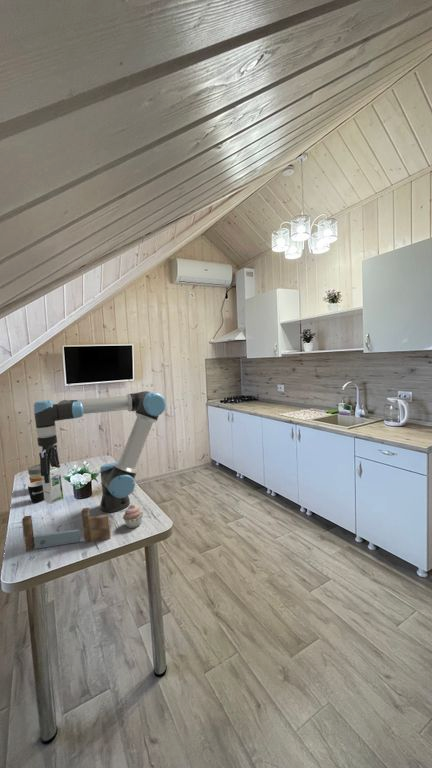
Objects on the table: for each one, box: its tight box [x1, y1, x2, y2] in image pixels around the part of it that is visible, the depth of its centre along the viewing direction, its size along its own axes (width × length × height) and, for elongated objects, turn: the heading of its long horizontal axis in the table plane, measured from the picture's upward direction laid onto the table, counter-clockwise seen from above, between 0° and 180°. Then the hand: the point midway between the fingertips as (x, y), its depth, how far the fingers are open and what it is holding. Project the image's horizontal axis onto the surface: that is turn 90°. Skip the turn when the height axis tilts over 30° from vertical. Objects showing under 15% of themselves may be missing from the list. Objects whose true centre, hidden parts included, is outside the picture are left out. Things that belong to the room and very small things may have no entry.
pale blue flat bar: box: [34, 528, 82, 549], centre depth 135 cm, size 18×2×5 cm, turn 99°
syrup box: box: [41, 466, 64, 505], centre depth 141 cm, size 6×6×14 cm
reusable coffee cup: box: [27, 463, 51, 484], centre depth 200 cm, size 13×12×15 cm
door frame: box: [21, 507, 112, 552], centre depth 136 cm, size 34×2×14 cm, turn 99°
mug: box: [27, 481, 45, 504], centre depth 184 cm, size 12×9×10 cm
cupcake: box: [122, 503, 144, 529], centre depth 148 cm, size 9×9×10 cm
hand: (52, 485), depth 141 cm, fingers closed on syrup box, 8 cm apart
